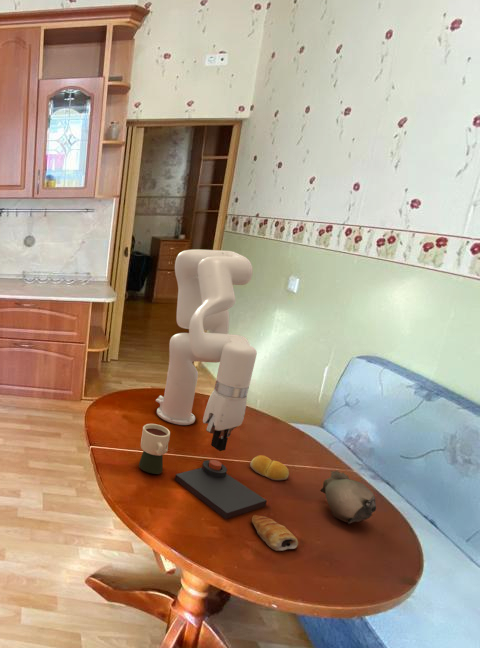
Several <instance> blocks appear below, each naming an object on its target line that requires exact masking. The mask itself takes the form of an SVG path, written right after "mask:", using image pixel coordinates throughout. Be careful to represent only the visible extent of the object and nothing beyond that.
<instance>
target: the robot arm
mask: <svg viewBox="0 0 480 648" xmlns="http://www.w3.org/2000/svg"><path fill="white" fill-rule="evenodd" d="M253 274H254V269H253V265H252V262H251V261H250V260H249V258H247V257H246V256H245V255H242V254H240V253H237V252H236V251H233V250H219V249H218V250H217V249H186V250H182V251H181V252H179V253H178V254H177V256H176V258H175V262H174V275H175V278H176V282H177V291H178V292H177V302H176V303H177V304H176V317H175V318H176V324H177V326H178V327H179V328H181V329H186V330H188V332H178V333H175V334H174V335H172V336H171V337H170V339H169V344H168V345H169V346H168V347H169V348H168V349H169V350H168V352H169V359H168V367H167V368H168V369H167V374H166V381H165V387H164V388H165V389H164V395H159V396H158V397H157V398H156V399H155V402H156V403H158V404H159V407H158V408H157V409H156V415H157V416H158V417H159V418H160V419H162V420H163V421H165V422H168V423H171V424H174V425H179V426H188V425H192V424H194V423H195V421H196V416H195V415H194V414H193V412H192V411H193V406H194V401H195V394H196V389H197V384H198V380H199V379H198V378H199V373H198V372H199V371H198V370H197V368H196V366H195V365H194V364H193V363H194V362H200V363H215V364H216V363H219V365H218V369H217V373H216V377H215V383H214V388H213V390H212V391H211V394H210V396H209V398H208V401H207V403H206V407H205V409H204V413H203V417H202V423H203V424H205V425H206V424H207V426H206V429H205V432H207V433H209V434H212V439H211V443H210V446H211V447H212V448H214V449H215V450H217V451H219V452H222V451H226V448H227V444H228V439H229V438H230V437H231V434H232V432H233V430H234V429H236V428H238V427H239V426H241V425H242V424H243V422H244V418H245V415H246V411H247V410H246V409H247V402H248V401H247V400H248V397H247V396H248V393H249V389H250V385H251V380H252V376H253V373H254V369H255V363H256V360H257V349H256V348H255V347H254V346H253V345H251V344H250V342H249V340H248V339H247V338H246V337H245V336H243V335H241V334H230V333H229V332H230V331H229V330H230V312H229V309H231V308H232V307H234V306H235V304H236V301H237V299H236V295H235V289H234V286H245V285H247V284H249V283H250V282H251V280H252V279H253ZM205 331H208V332H205Z"/></svg>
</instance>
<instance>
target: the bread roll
mask: <svg viewBox="0 0 480 648" xmlns="http://www.w3.org/2000/svg"><path fill="white" fill-rule="evenodd" d="M249 467H250V468H251V470H253V471H254V472H255V473H256V474H258V475H260V476H263V477H266V478H267V479H270V480H272V481H284V480H287V479H288V478H289V475H290V472H289V469H288V467H287V466H286V465H285V464H283V463H282V462H280V461H278V460H272V459H271V458H269V457H268V456H266V455H261V454H260V455H256V456H255V457H253V458H252V459H251V461H250V463H249Z"/></svg>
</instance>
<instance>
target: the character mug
mask: <svg viewBox="0 0 480 648" xmlns="http://www.w3.org/2000/svg"><path fill="white" fill-rule="evenodd" d="M170 438H171V431H170V430H169V429H168V428H167V427H165V426H164V425H160V424H156V423H146V424H144V425H143V426H142V433H141V439H140V448H141V450H142V453H141V457H140V459H139V464H138V466H139V469H140V470H142V471H143V472H146V473H149V474H153V475H160V474H162V473H163V470H164V469H163V467H164V466H163V465H164V459H163V457H164V455H165V454H167V453H168V451H169V442H170Z"/></svg>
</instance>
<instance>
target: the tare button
mask: <svg viewBox="0 0 480 648" xmlns="http://www.w3.org/2000/svg"><path fill="white" fill-rule="evenodd" d="M209 460H210V461H209V467H210V468H211V469H214V470H221V466H222V464H223V463H222V462H221V461H219V460H218V459H217V460H216V459H209Z"/></svg>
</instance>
